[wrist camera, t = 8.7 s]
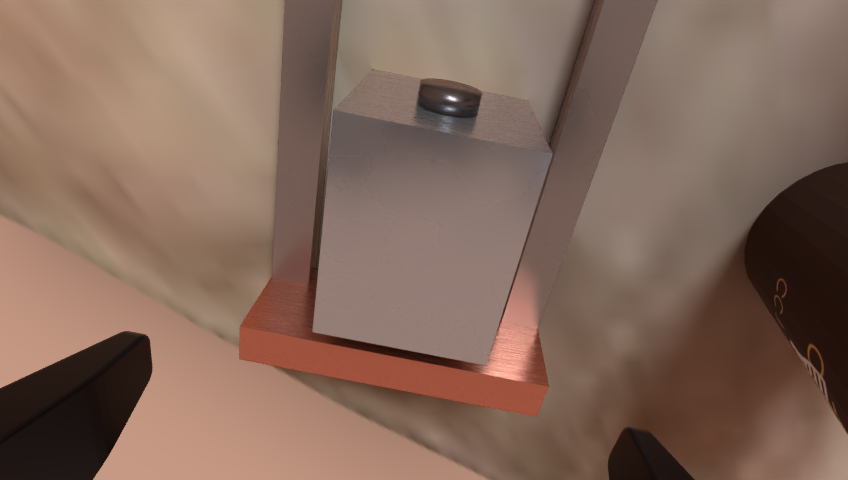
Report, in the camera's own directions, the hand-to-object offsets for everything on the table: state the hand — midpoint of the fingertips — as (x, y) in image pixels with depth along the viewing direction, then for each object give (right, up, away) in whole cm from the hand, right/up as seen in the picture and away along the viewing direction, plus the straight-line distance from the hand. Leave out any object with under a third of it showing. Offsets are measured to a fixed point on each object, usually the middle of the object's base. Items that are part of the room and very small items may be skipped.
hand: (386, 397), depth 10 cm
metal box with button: (+1, +5, +10) cm, 11 cm away
